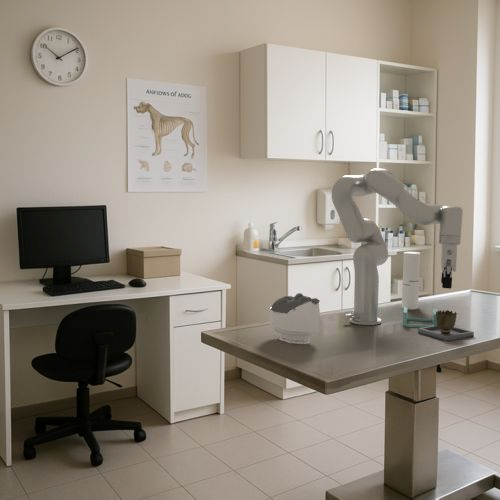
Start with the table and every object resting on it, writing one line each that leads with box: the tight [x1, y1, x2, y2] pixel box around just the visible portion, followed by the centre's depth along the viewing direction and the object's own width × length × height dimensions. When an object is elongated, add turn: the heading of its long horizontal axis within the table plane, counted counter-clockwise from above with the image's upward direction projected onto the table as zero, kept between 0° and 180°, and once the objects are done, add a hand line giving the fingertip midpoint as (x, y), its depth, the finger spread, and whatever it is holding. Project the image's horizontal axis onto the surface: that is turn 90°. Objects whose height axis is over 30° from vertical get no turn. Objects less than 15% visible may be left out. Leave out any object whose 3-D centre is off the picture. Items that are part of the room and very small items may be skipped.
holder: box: [402, 307, 438, 328], centre depth 244 cm, size 12×13×6 cm
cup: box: [436, 309, 458, 334], centre depth 227 cm, size 8×7×8 cm
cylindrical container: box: [401, 251, 421, 310], centre depth 274 cm, size 7×7×25 cm
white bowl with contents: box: [269, 292, 321, 345], centre depth 217 cm, size 13×17×20 cm
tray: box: [417, 325, 475, 342], centre depth 228 cm, size 14×14×2 cm
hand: (446, 285), depth 226 cm, fingers open, 9 cm apart
